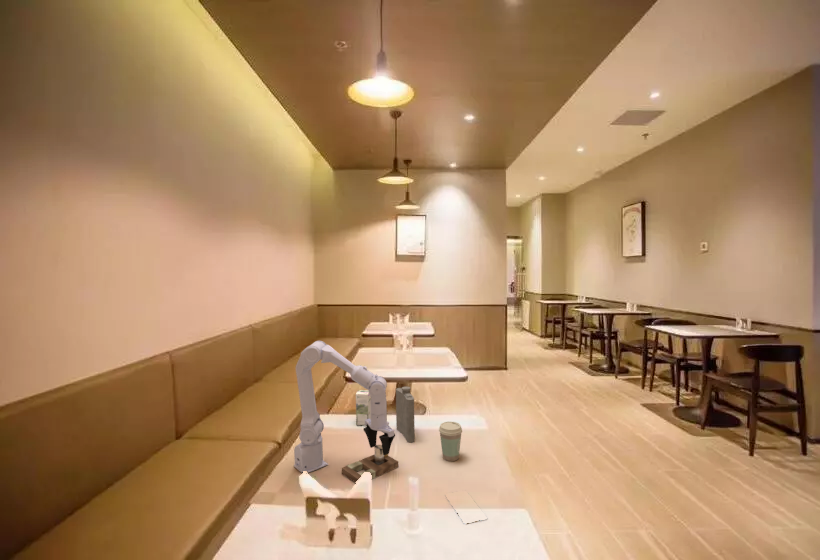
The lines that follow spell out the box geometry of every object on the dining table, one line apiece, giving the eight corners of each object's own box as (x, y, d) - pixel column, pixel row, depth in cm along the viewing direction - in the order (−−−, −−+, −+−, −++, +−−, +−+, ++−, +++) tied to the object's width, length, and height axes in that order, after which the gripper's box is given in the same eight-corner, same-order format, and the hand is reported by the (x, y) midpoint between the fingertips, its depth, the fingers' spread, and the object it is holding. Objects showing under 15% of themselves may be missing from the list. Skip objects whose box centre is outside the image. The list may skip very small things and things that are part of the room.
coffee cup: (461, 464, 144) (461, 431, 144) (437, 462, 146) (437, 429, 146) (463, 452, 153) (463, 421, 152) (440, 451, 154) (440, 420, 154)
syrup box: (371, 421, 184) (370, 389, 184) (368, 426, 179) (368, 393, 178) (358, 420, 185) (358, 389, 184) (356, 425, 179) (355, 393, 178)
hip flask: (395, 428, 176) (394, 382, 175) (404, 426, 178) (403, 381, 177) (408, 443, 161) (407, 394, 160) (417, 441, 163) (417, 392, 162)
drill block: (358, 485, 132) (358, 479, 132) (341, 473, 139) (341, 467, 139) (398, 466, 143) (398, 461, 143) (381, 456, 150) (380, 451, 150)
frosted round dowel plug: (378, 469, 141) (378, 450, 141) (372, 466, 144) (372, 446, 144) (386, 466, 144) (386, 446, 143) (380, 462, 146) (380, 443, 146)
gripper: (400, 415, 140) (401, 453, 141) (375, 404, 151) (376, 440, 152) (384, 420, 135) (385, 460, 136) (359, 409, 146) (360, 446, 147)
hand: (379, 450), depth 143 cm, fingers open, 7 cm apart
